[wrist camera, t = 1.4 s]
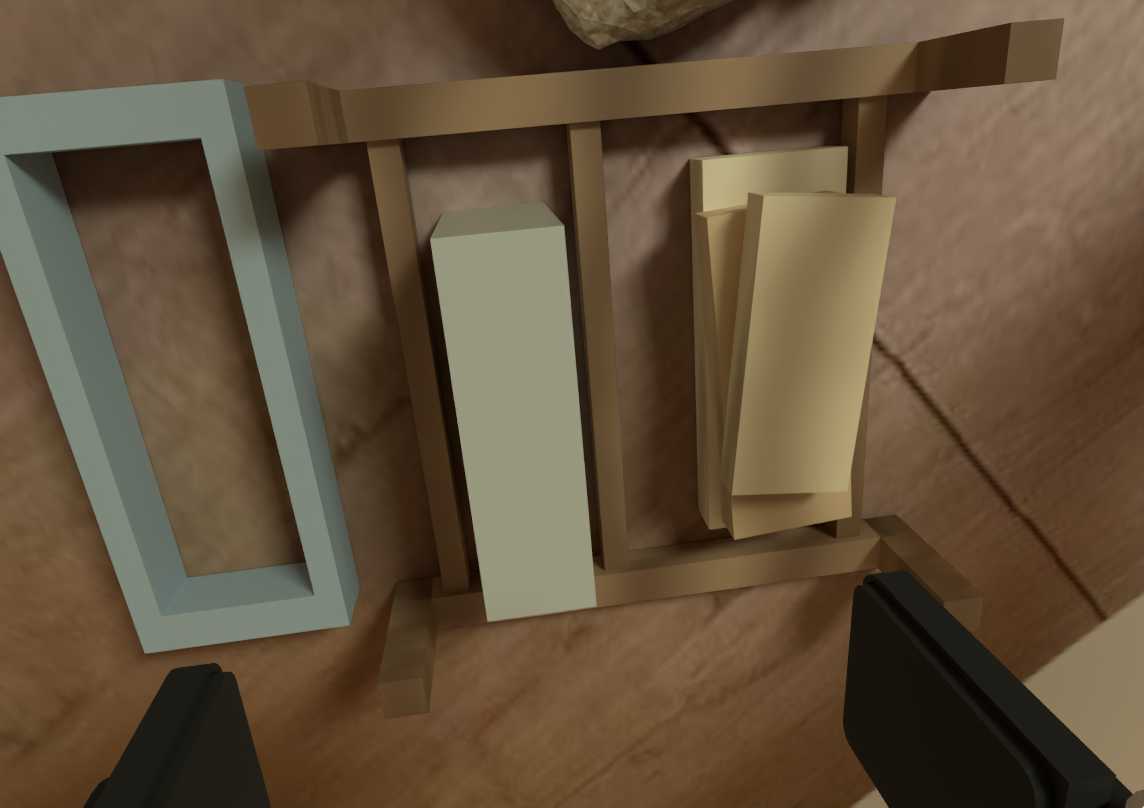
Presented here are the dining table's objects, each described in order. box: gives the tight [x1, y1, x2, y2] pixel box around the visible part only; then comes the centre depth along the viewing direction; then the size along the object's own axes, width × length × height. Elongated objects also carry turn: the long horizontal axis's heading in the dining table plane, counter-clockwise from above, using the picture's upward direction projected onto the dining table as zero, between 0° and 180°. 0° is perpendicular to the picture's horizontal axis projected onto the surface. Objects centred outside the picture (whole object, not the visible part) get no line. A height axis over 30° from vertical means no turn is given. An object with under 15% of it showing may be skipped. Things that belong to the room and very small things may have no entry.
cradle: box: [0, 79, 360, 654], centre depth 25 cm, size 8×19×2 cm, turn 5°
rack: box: [244, 18, 1064, 719], centre depth 25 cm, size 22×20×6 cm
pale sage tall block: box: [430, 202, 597, 622], centre depth 24 cm, size 4×12×7 cm, turn 5°
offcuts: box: [690, 146, 896, 540], centre depth 26 cm, size 6×14×4 cm, turn 5°
